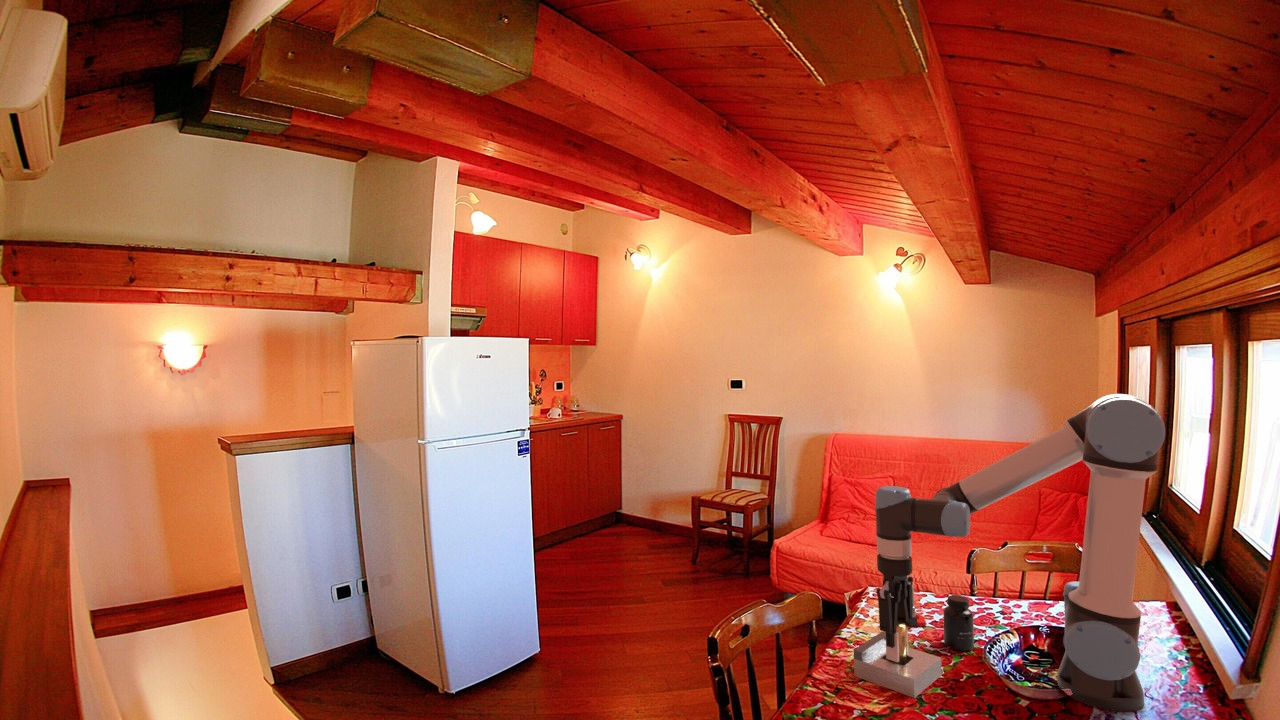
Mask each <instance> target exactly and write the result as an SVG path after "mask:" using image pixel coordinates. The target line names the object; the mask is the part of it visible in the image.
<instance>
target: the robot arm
mask: <svg viewBox="0 0 1280 720" xmlns="http://www.w3.org/2000/svg"><path fill="white" fill-rule="evenodd" d="M1063 424H1064V425H1063V426H1062V427H1061V428H1059V429H1057V430H1055V431H1053V432H1051V433H1050V434H1047V435H1046V436H1044V437H1042V438H1040V439H1038V440H1036V441H1034V442H1032V443H1030V444H1029V445H1027V446H1025V447H1022V448H1021V449H1018V450H1017V451H1015V452H1013V453H1012V454H1009V455H1007V456H1005V457H1004V458H1002V459H1000V460H998V461H996V462H994V463H992V464H990V465H988V466H986V467H985V468H982V469H980V470H979V471H976V472H975V473H973V474H970V475H969V476H967V477H965V478H962V479H961V480H959V481H958V482H956V483H954V484H952V485H950V486H947V487H943V488H940V489H939V490H938V491H936V492H935V494H933V495H934V496H932V498H931V499H927V498H917V497H912V495H911V491H910V489H908V488H907V487H903V486H899V485H898V486H897V485H896V486H895V485H888V486H887V485H884V486H881V487H879V488H877V489H876V491H875V506H874V509H875V525H876V526H875V528H876V537H875V541H876V552H877V553H878V554H877V556H876V562H877V563H876V565H877V567H876V568H877V571H878V572H879V573H880V574H882V576H883V577H882V587H881V588H879V587H878V588H876V595H877V598H878V599H877V600H878V601H877V603H878V618H879V619H878V620H879V621H878V622H879V630H880V631H881V632H882V631H883V632H885V633H886V659H889V660H892V661H895V662H899V635H898V632H896V627H897V621H901V622H903V623H905V625H906V655H908V647H909V629H908V627H913V626H912V622H909V620H912V584H913V582H914V577H913V576H910V575H912V573H913V558H912V557H911V556H912V555H913V547H912V546H913V543H912V540H913V539H912V532H913V533H922V534H928V535H937V536H944V537H945V536H946V537H950V538H953V537H955V538H956V537H957V538H965V537H968V535H970V530H971V515H972V514H974V513H976V512H978V511H979V510H982V509H983V508H985V507H988V506H991V505H992V504H994V503H997V502H998V501H1000V500H1002V499H1005V498H1006V497H1009V496H1011V495H1012V494H1015V493H1017V492H1020V491H1021V490H1023V489H1025V488H1027V487H1029V486H1032V485H1033V484H1036V483H1038V482H1040V481H1041V480H1044V479H1046V478H1049V477H1050V476H1052V475H1054V474H1056V473H1059V472H1061V471H1062V470H1064V469H1066V468H1068V467H1070V466H1073V465H1075V464H1077V463H1078V462H1081V461H1082V462H1083V464H1085V465H1086V466H1087V468H1088V469H1089V470H1090V476H1089V486H1088V494H1087V495H1088V496H1087V505H1086V515H1085V522H1084V523H1085V524H1084V534H1083V543H1082V552H1081V553H1082V554H1081V559H1080V560H1081V562H1080V571H1079V579H1078V581H1068V582H1067V583H1065V585H1064V587H1063V593H1062V595H1063V598H1064V601H1063V604H1064V635H1063V638H1062V639H1063V640H1062V642H1063V646H1064V649H1065V652H1064V655H1063V657H1062V660H1061V663H1060V665H1059V668H1058V670H1057V673H1056V674H1057V675H1056V676H1057V683H1058V684H1057V686H1060V687H1066V688H1069V689H1071V691H1072V693H1073V694H1072V695H1071V696H1070V697H1069V698H1071V699H1073V700H1075V701H1077V702H1080V703H1082V704H1084V705H1087V706H1091V707H1093V708H1098V709H1101V710H1105V711H1106V710H1108V711H1113V712H1114V711H1115V712H1132V711H1133V712H1134V711H1137V710H1140V709H1141V708H1143V707H1144V705H1145V693H1144V689H1143V686H1142V685H1141V681H1140V678H1139V676H1138V674H1137V668H1138V666H1139V664H1140V661H1141V652H1140V648H1139V637H1140V626H1141V617H1142V610H1141V609H1140V608H1139V607H1138V606H1137V605H1136V603H1135V602H1134V601H1133V600H1134V599H1133V598H1134V587H1135V582H1136V581H1135V579H1136V571H1137V570H1136V569H1137V562H1138V551H1139V546H1140V545H1139V544H1140V535H1141V525H1142V517H1143V508H1144V507H1143V506H1144V499H1145V490H1146V489H1145V488H1146V480H1147V479H1148V478H1150V477H1151V476H1153V475H1155V474H1156V473H1158V465H1159V457H1160V449H1161V447H1162V446H1163V444H1164V442H1165V438H1166V426H1165V422H1164V420H1163V418H1162V416H1161V414H1160V413H1159V412H1158V411H1157V409H1155V407H1154V406H1152V405H1150V404H1149V403H1147V402H1146V401H1144V400H1142V399H1140V398H1138V397H1136V396H1133V395H1131V394H1124V393H1114V394H1108V395H1105V396H1102V397H1101V398H1098V399H1097V400H1096V401H1094V402H1093V403H1092V404H1090V405H1088V407H1086V408H1085V409H1083V410H1081V411H1079V412H1078V413H1077V414H1075V415H1073V416H1071V417H1069V418H1068V419H1066V420H1065V421H1064V423H1063ZM913 585H914V584H913ZM907 625H908V626H907Z"/></svg>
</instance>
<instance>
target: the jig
mask: <svg viewBox="0 0 1280 720" xmlns="http://www.w3.org/2000/svg"><path fill="white" fill-rule="evenodd" d="M906 659H907V664H905V665H904V666H902V665H899V664H896V663H893V662H890V661H888V659H886V633H885V632H884V631H881V632H879V633H878V634H876V635H874V636H873V637H872V638H870V639H869V640H866V641H865V642H864V643H862V644H860V645H859V646H857V647H856V648H854V649H853V669H854V670H853V671H854V672H853V673H854V674H853V675H854V677H857V678H858V679H861V680H865V681H867V682H870V683H872V684H875V685H878V686H881V687H883V688H885V689H889V690H892V691H894V692H898V693H899V694H903V695H905V696H907V697H911V698H914V699H916V697H918V696H919V695H920V694H922V692H923V691H925V690H926V689H927V688H928V687H929V686H931V685H932V684H933V683H934V682H935V681H936V680H938V679H939V678H940V677H941V676H942V674H943V673H942V657H940V656H937V655H935V654H931V653H929V652H928V653H927V652H924V651H921V650H918V649H914V648H911V647H909V646H908V655H906Z"/></svg>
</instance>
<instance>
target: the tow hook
mask: <svg viewBox="0 0 1280 720" xmlns="http://www.w3.org/2000/svg"><path fill="white" fill-rule="evenodd" d="M914 589H915V588H914V584H912V620H909V622H912V626H911V627H915V626H917V627H926V626H927V622H926V617H925V616H924V615H922V614H920V613H916V606H915V592H914ZM907 626H908V625H907ZM908 627H909V626H908Z"/></svg>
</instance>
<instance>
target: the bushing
mask: <svg viewBox="0 0 1280 720" xmlns="http://www.w3.org/2000/svg"><path fill="white" fill-rule="evenodd" d="M896 632H898V635H899V662H895V661H892V660H889V659H888V661H890V662H893V663H896V664H899V665H902V666H904V665H905V664H907V659H906V625H905V623H903V622H901V621H897V627H896Z"/></svg>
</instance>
